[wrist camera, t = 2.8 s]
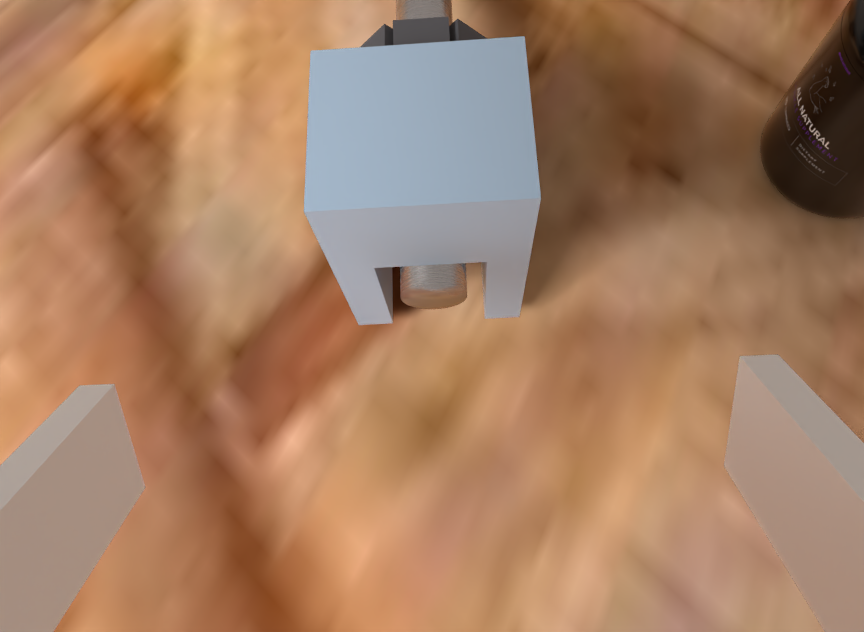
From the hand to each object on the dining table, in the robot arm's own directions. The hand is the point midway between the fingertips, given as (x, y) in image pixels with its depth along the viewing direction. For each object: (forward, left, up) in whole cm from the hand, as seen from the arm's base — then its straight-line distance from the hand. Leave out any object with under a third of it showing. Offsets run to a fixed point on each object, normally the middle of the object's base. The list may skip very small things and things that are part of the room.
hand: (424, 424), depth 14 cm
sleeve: (-8, +6, -14) cm, 17 cm away
